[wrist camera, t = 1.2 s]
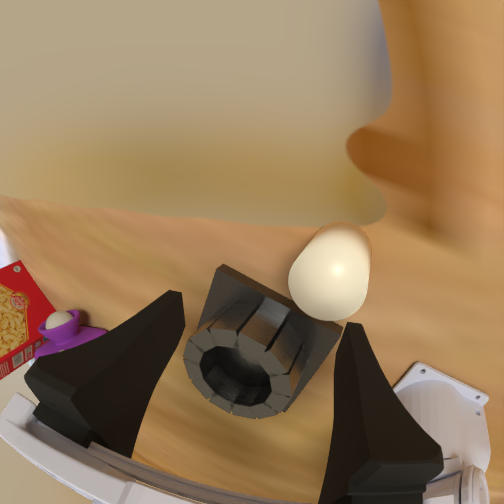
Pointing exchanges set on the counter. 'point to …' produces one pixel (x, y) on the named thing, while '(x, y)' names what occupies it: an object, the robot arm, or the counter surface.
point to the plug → (332, 272)
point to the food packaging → (20, 317)
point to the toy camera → (65, 332)
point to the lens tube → (254, 347)
